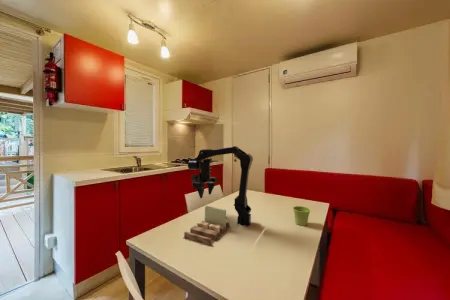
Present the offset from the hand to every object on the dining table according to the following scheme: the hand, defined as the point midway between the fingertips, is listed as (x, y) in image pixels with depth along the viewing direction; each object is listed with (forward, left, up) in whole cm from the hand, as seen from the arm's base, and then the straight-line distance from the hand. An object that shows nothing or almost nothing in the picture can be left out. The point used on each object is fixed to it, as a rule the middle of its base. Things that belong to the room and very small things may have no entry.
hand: (205, 196), depth 112 cm
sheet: (-11, +8, -13) cm, 19 cm away
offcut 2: (-15, +15, -13) cm, 25 cm away
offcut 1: (-8, +15, -13) cm, 21 cm away
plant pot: (-52, -20, -14) cm, 57 cm away
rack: (-11, +15, -14) cm, 23 cm away
